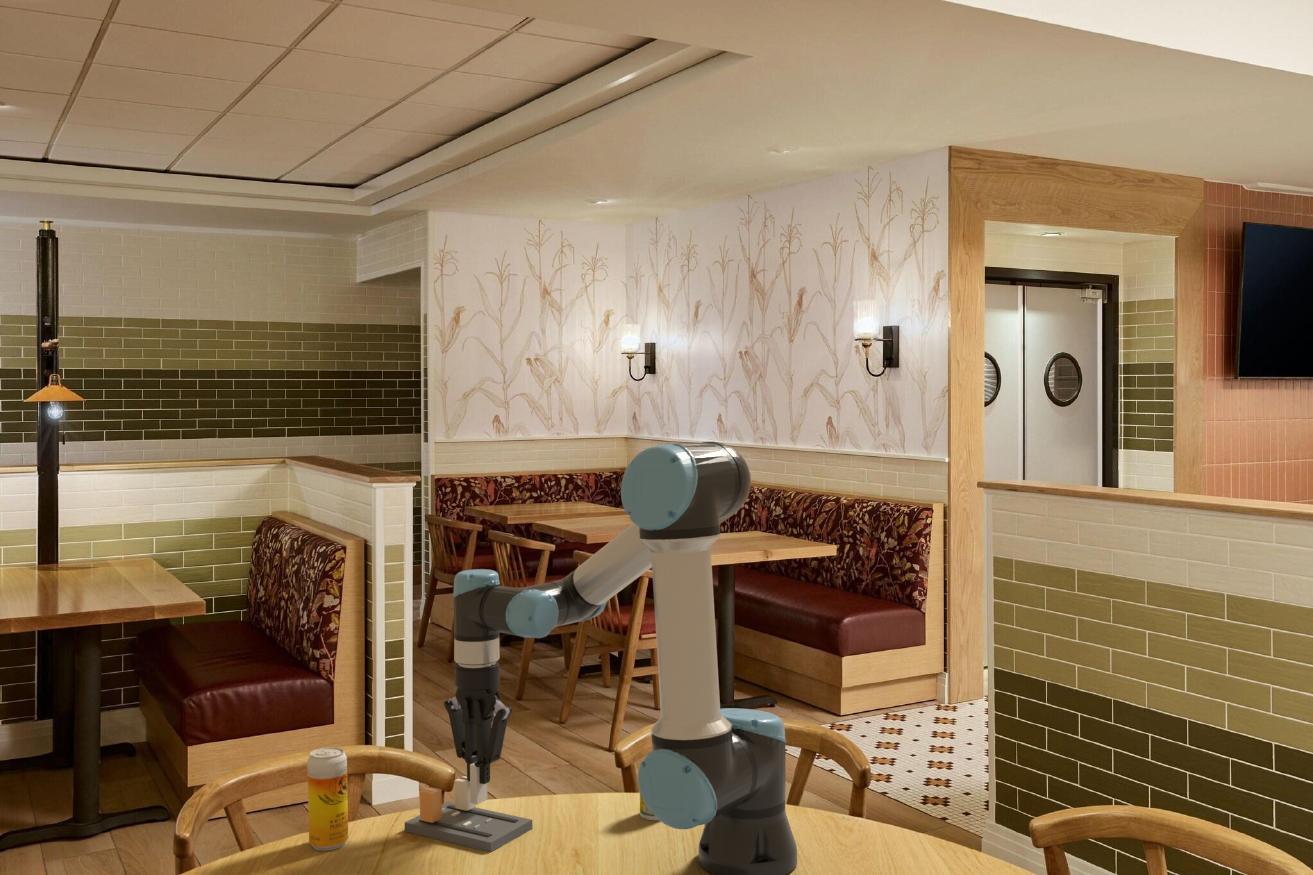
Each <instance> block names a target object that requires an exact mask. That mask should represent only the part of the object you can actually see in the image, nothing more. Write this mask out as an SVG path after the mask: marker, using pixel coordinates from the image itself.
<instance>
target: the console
mask: <svg viewBox="0 0 1313 875" xmlns="http://www.w3.org/2000/svg"><path fill="white" fill-rule="evenodd" d="M531 830H533V819H531V818H525V817H520V816H516V815H514V814H513V815H511V814H507V813H504V812H499V811H498V812H497V811H493V810H488V809H485V808H480V807H477V806H476V807H474V808H472V809H470V810H468V811H466V810H461V809H457V808H455V802H452V801H446V802H443V803H442V818H441V819H439V820H437V821H435V822H433V823H431V822H426V821H422V820H420V814H418V815H417V816H415V817H412V818H411V819H409V820H406V821H405V822H404V832H405V833H410V834H415V835H419V836H423V837H427V838H432V839H435V840H439V841H444V842H448V843H452V844H456V845H460V846H465V847H468V848H472V849H478V850H482V851H486V852H489V853H492V852H494V851H496V850H497V849H499V848H500V847H503V846H505V845H506V844H508V843H510V842H511V841H513V840H515V839H517V838H519V837H520V836H522V835H523V834H526V833H527V832H529V831H531Z"/></svg>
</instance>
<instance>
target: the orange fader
mask: <svg viewBox="0 0 1313 875" xmlns="http://www.w3.org/2000/svg"><path fill="white" fill-rule="evenodd" d="M442 794H443V792H442V789H441V788H438V787H431V786H428V787H425V788H424V789H421V790H420V791H419V815H420V820H422V821H426V822H431V823H433V822H435V821H437V820H439V819H441V818H442V804H443V799H442V798H443V797H442V796H443V795H442Z"/></svg>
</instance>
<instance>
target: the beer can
mask: <svg viewBox="0 0 1313 875" xmlns="http://www.w3.org/2000/svg"><path fill="white" fill-rule="evenodd" d="M306 767H307V800H308V801H307V808H308V810H307V811H308V816H307V817H308V843H309V845H311V846H312V848H313V849H314V850H316V851H320V852H321V851H324V852H325V851H333V850H336V849H339V848H341V847H344V845H345V844H346V842H347V841H348V840H349V804H348V803H349V802H348V800H349V799H348V756H347V755H346V752H345V749H344V748H342V747H336V746H328V747H321V748H317V749H313V750H312V751H310V753H309V756H308V759H307V766H306Z"/></svg>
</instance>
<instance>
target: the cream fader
mask: <svg viewBox="0 0 1313 875" xmlns="http://www.w3.org/2000/svg"><path fill="white" fill-rule="evenodd" d="M454 803H455V808H457V809H461V810H466V811H468V810H470V809H472V808H474V807H476V808H477V804H473V803H470V781H468V779H467V775H466V776H465V775H463V776H460V777H459V778H457V779H454Z"/></svg>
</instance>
